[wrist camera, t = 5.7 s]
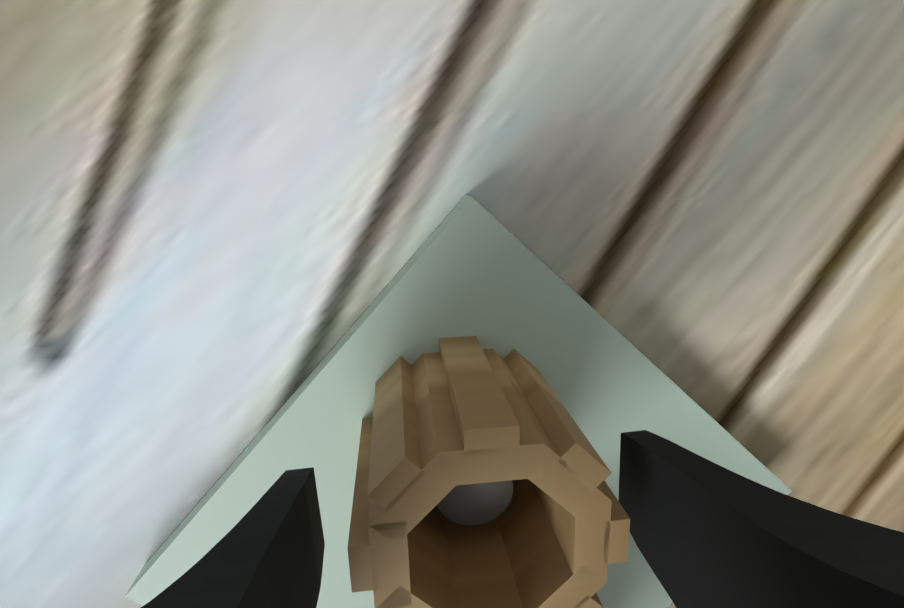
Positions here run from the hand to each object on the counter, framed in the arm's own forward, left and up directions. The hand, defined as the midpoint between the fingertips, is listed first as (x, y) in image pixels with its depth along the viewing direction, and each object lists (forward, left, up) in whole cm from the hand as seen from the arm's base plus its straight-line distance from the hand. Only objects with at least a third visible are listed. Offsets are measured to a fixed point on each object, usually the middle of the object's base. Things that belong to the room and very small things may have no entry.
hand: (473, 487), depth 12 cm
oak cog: (0, 0, -3) cm, 3 cm away
